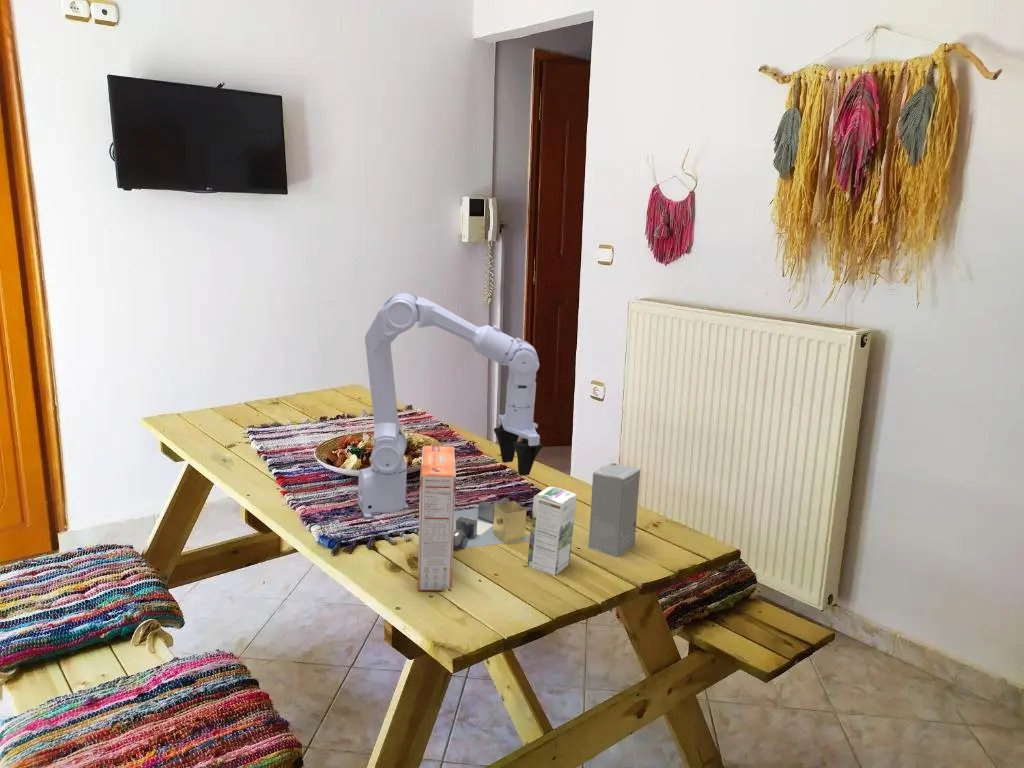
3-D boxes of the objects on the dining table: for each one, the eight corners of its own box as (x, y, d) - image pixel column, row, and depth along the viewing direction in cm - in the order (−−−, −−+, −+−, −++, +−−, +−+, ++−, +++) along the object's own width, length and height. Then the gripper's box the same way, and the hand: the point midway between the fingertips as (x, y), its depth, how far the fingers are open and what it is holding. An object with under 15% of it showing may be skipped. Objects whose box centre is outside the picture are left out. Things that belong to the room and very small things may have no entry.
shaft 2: (492, 523, 157) (493, 508, 157) (477, 518, 159) (478, 503, 158) (513, 512, 163) (514, 497, 163) (499, 507, 165) (499, 493, 164)
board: (449, 553, 146) (449, 548, 146) (426, 517, 160) (426, 513, 160) (530, 544, 152) (530, 539, 151) (501, 510, 166) (501, 506, 166)
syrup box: (541, 558, 146) (547, 484, 143) (570, 567, 143) (577, 492, 140) (526, 570, 141) (532, 494, 138) (556, 580, 139) (562, 502, 135)
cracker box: (417, 553, 145) (421, 444, 140) (451, 553, 146) (456, 445, 141) (415, 592, 132) (419, 473, 126) (451, 592, 132) (457, 474, 127)
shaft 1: (459, 532, 153) (459, 516, 152) (476, 535, 152) (477, 520, 151) (443, 547, 146) (444, 531, 145) (461, 551, 145) (462, 535, 144)
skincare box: (618, 561, 147) (626, 481, 143) (583, 550, 151) (590, 471, 147) (636, 545, 154) (645, 468, 150) (603, 534, 158) (610, 459, 154)
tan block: (502, 543, 149) (504, 514, 148) (490, 534, 153) (492, 505, 151) (526, 538, 152) (528, 509, 150) (514, 529, 156) (516, 500, 154)
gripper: (555, 413, 154) (550, 478, 158) (521, 393, 167) (517, 454, 170) (522, 415, 151) (518, 482, 155) (490, 395, 164) (487, 457, 167)
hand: (515, 468), depth 162 cm, fingers open, 7 cm apart
